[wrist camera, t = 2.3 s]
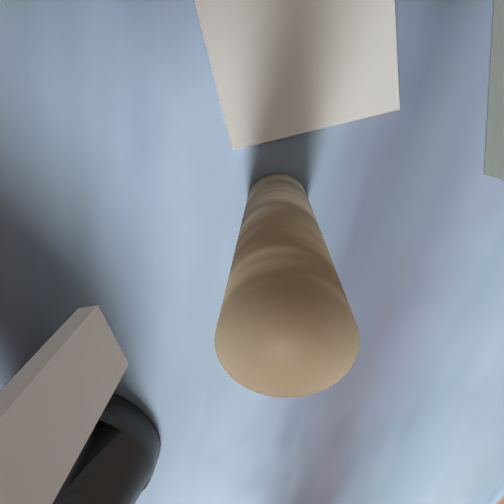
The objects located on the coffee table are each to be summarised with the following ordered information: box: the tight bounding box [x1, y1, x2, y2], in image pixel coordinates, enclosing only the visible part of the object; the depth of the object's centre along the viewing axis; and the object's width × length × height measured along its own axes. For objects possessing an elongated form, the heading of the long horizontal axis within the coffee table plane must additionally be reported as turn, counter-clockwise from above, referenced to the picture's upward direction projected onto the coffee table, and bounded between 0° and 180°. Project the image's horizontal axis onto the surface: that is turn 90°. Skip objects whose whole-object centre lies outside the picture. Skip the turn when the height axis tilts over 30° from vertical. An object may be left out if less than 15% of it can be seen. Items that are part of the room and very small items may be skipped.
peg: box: [215, 173, 360, 398], centre depth 15 cm, size 4×4×14 cm
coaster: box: [194, 0, 400, 151], centre depth 17 cm, size 10×10×1 cm
